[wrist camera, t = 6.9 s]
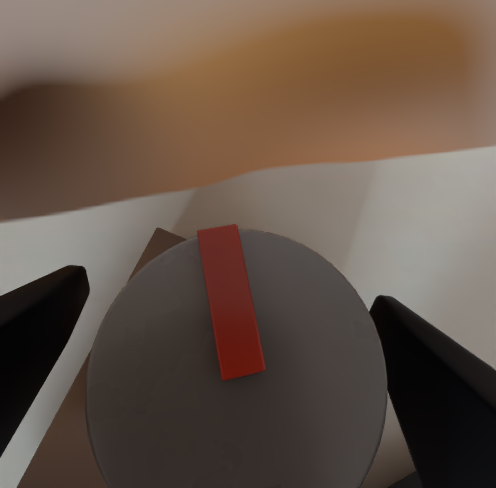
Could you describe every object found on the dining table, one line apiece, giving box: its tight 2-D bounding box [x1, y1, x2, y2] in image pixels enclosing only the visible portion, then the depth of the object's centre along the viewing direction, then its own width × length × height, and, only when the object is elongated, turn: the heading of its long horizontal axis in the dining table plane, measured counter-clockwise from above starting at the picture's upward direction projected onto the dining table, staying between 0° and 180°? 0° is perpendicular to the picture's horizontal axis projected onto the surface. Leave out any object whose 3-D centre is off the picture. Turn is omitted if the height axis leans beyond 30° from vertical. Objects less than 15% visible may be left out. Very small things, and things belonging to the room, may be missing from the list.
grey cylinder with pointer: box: [85, 224, 387, 488], centre depth 8 cm, size 4×4×9 cm
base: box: [17, 228, 186, 488], centre depth 13 cm, size 13×10×3 cm
